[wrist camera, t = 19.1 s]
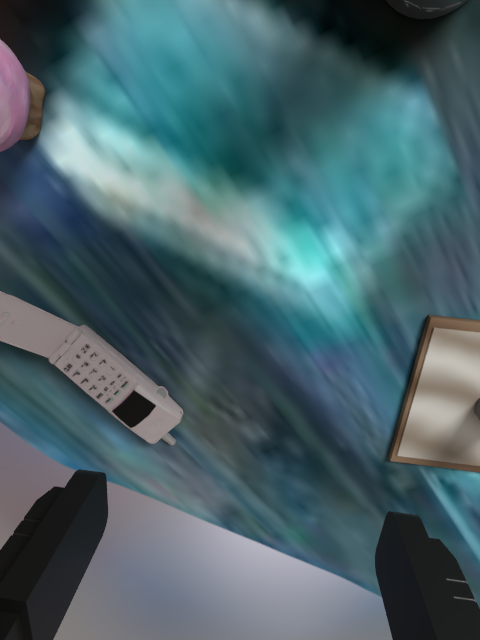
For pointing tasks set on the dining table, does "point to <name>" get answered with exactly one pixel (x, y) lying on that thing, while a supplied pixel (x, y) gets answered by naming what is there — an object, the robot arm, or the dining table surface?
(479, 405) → the grey and red cylinder
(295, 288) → the dining table surface
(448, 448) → the clipboard
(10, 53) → the cupcake
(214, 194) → the dining table surface
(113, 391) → the mobile phone
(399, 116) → the dining table surface
